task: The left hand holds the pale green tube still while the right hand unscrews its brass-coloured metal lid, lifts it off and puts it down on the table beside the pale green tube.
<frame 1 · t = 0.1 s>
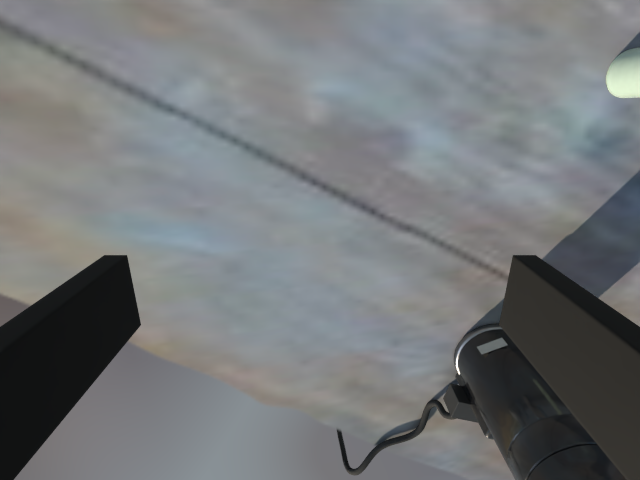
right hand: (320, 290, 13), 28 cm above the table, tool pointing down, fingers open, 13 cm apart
pale green tube: (629, 73, 36), on the table
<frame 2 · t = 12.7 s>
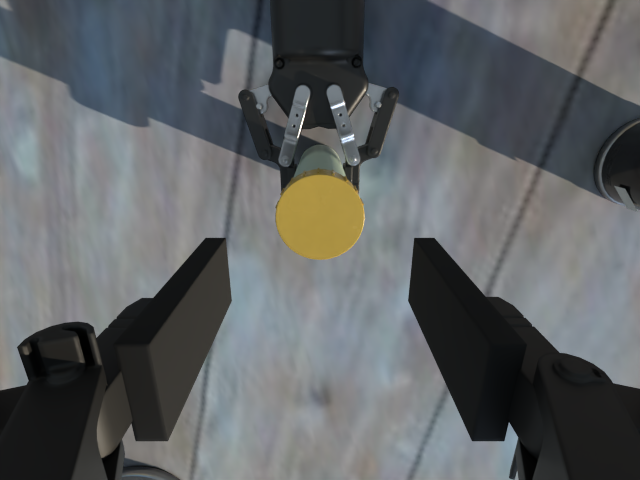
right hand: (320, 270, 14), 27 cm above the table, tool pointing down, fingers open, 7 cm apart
left hand: (320, 203, 35), fingers closed on pale green tube, 4 cm apart
pale green tube: (319, 165, 39), on the table, touching left hand
lid: (319, 217, 21), point 20 cm above the table, screwed on, not yet turned
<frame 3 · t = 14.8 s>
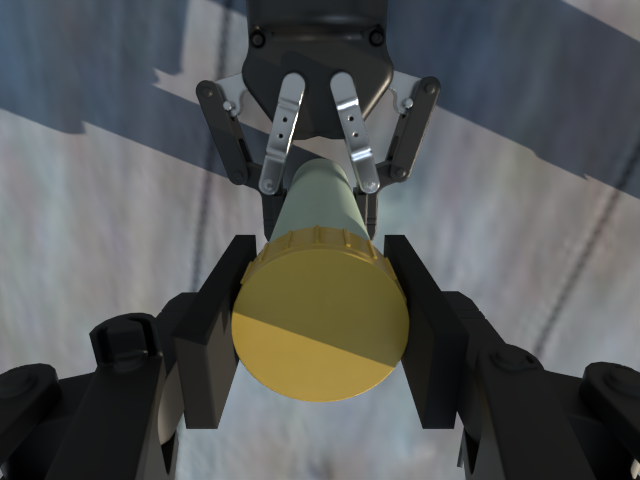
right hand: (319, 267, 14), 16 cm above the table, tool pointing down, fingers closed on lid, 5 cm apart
left hand: (320, 244, 24), fingers closed on pale green tube, 4 cm apart
pale green tube: (320, 186, 29), on the table, touching left hand
lid: (320, 325, 11), point 20 cm above the table, screwed on, not yet turned, touching right hand
when the right hand's fingers open (16 cm above the table, at t = 16.2 s): lid stays where it is, point 20 cm above the table.
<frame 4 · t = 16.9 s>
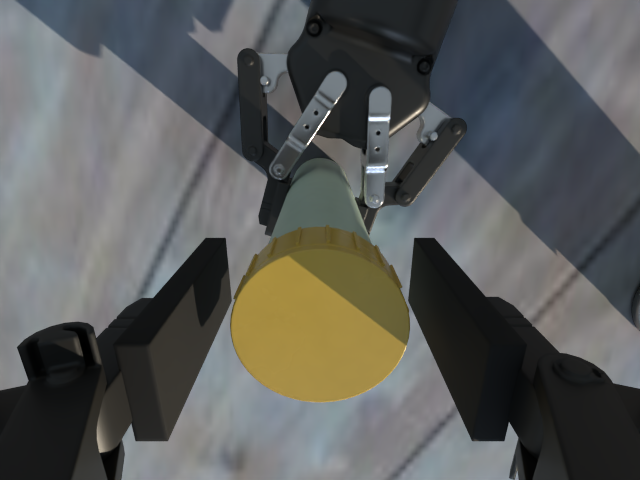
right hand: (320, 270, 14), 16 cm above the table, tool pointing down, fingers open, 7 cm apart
left hand: (308, 241, 24), fingers closed on pale green tube, 4 cm apart
pale green tube: (320, 185, 29), on the table, touching left hand
lid: (320, 325, 10), point 20 cm above the table, turned 87° so far, risen 0.2 cm, still on its thread
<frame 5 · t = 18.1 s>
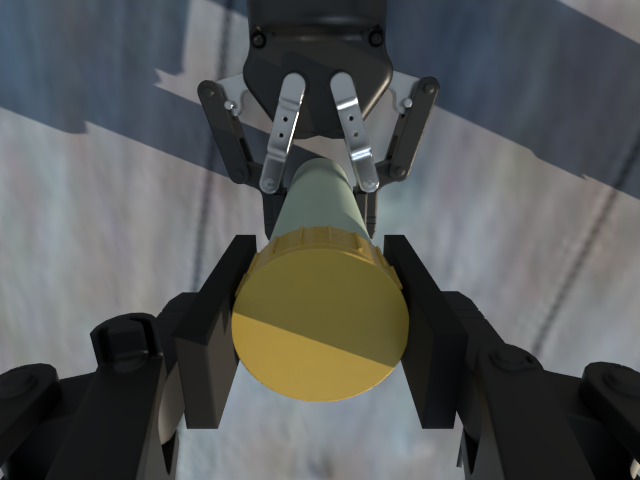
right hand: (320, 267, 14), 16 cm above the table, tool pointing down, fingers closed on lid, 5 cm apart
left hand: (320, 243, 24), fingers closed on pale green tube, 4 cm apart
pale green tube: (320, 185, 29), on the table, touching left hand
lid: (320, 325, 11), point 20 cm above the table, turned 87° so far, risen 0.2 cm, still on its thread, touching right hand
when the right hand's fingers open (0 cm above the table, at t = 24.6 s): lid drops 3 cm, point 2 cm above the table.
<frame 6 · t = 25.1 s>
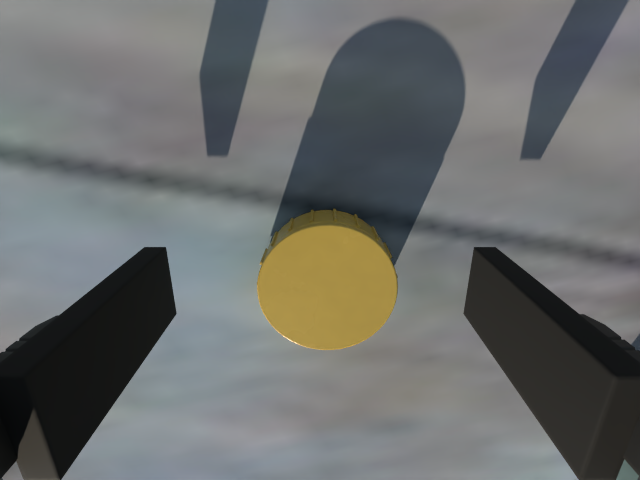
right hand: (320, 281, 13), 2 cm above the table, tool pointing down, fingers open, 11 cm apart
lid: (327, 287, 13), point 2 cm above the table, off its thread
when the left hand's fingers open (6 cm above the table, at t = 25.6 s): pale green tube stays where it is, on the table.
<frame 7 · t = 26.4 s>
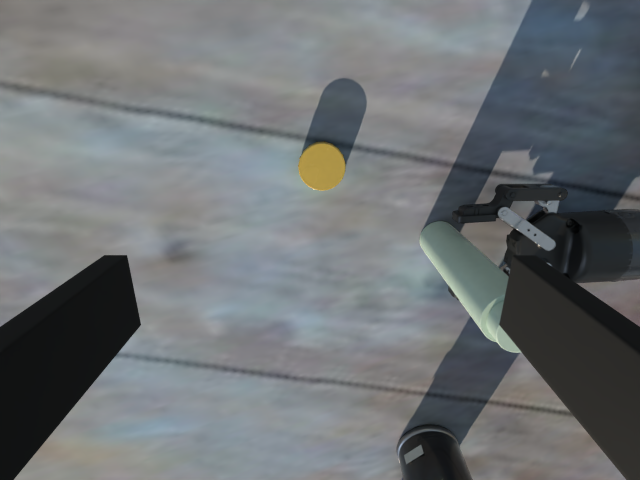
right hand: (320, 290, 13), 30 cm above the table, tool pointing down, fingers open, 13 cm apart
left hand: (452, 255, 39), fingers open, 8 cm apart
pale green tube: (437, 238, 44), on the table
lid: (322, 166, 39), point 2 cm above the table, off its thread
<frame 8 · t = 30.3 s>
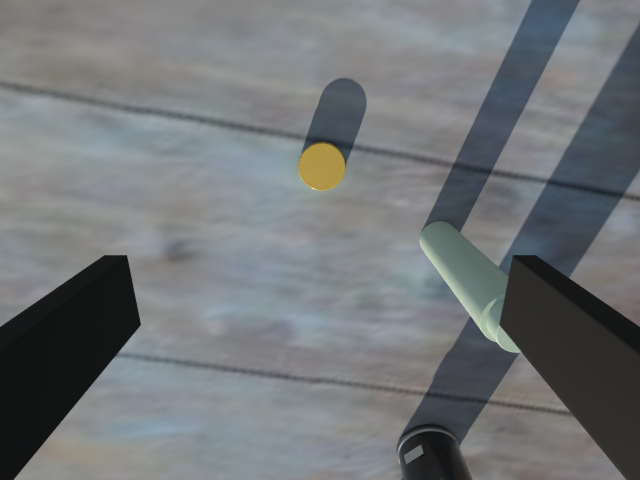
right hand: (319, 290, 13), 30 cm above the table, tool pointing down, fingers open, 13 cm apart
pale green tube: (437, 238, 44), on the table
lid: (321, 166, 39), point 2 cm above the table, off its thread
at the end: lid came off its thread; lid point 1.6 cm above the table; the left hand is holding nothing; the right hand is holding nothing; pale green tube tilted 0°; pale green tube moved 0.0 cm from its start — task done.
